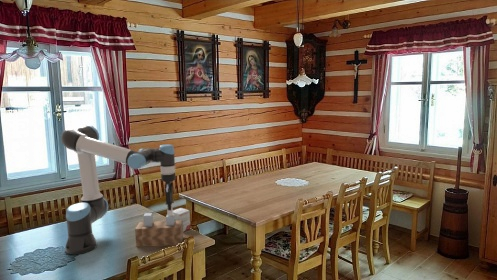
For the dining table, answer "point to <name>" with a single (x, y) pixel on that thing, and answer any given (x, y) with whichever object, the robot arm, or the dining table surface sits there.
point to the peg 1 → (148, 220)
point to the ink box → (183, 217)
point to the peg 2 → (170, 220)
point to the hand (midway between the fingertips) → (170, 215)
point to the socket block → (159, 234)
